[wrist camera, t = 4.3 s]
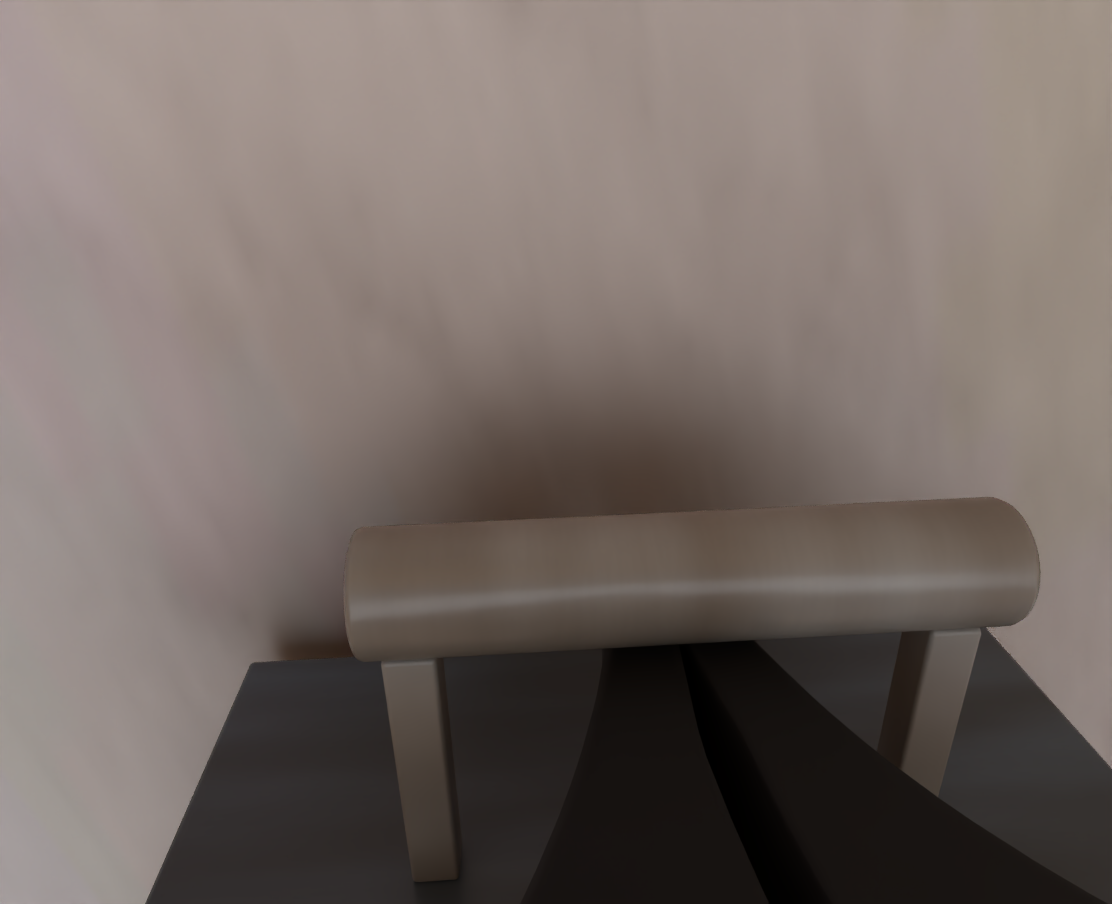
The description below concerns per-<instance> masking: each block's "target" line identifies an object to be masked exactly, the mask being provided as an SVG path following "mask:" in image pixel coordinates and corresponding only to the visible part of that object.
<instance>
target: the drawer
mask: <svg viewBox="0 0 1112 904" xmlns="http://www.w3.org/2000/svg"><path fill="white" fill-rule="evenodd" d="M1039 586H1040V562H1039V555H1038V551H1037V546H1036V543H1035V540H1034V537H1033V535H1032V532H1031V530H1030V528H1029V526H1028V524H1027V523H1026V521H1025V520H1024V518H1023V517H1022V515H1021V514H1020V513H1019V512H1018V511H1017V510H1016V509H1015V508H1014V507H1013V506H1011V505H1010V504H1009V503H1007V502H1005V501H1002V500H1000V499H997V498H993V497H979V498H958V499H937V500H916V501H895V502H874V503H853V504H832V505H812V506H791V507H770V508H749V509H728V510H707V511H686V512H665V513H644V514H623V515H602V516H581V517H560V518H539V519H518V520H497V521H476V522H456V523H435V524H414V525H393V526H372V527H361V528H359V529H357V530H355V531H354V533H353V535H352V537H351V540H350V543H349V546H348V550H347V554H346V560H345V569H344V585H343V601H344V618H345V626H346V633H347V638H348V642H349V645H350V648H351V651H352V653H353V655H354V657H343V658H325V659H307V660H289V661H270V662H254V663H252V664H251V665H250V666H249V669H248V671H247V673H246V676H245V678H244V680H243V682H242V685H241V687H240V689H239V692H238V694H237V696H236V698H235V701H234V703H233V705H232V707H231V710H230V712H229V714H228V717H227V719H226V721H225V723H224V726H223V728H222V730H221V732H220V735H219V737H218V739H217V742H216V744H215V746H214V748H213V751H212V753H211V755H210V758H209V760H208V762H207V764H206V767H205V769H204V771H203V773H202V776H201V778H200V780H199V783H198V785H197V787H196V789H195V792H194V794H193V796H192V799H191V801H190V803H189V805H188V808H187V810H186V812H185V814H184V817H183V819H182V821H181V824H180V826H179V828H178V830H177V833H176V835H175V837H174V840H173V842H172V844H171V846H170V849H169V851H168V853H167V855H166V858H165V860H164V862H163V865H162V867H161V869H160V871H159V874H158V876H157V878H156V881H155V883H154V885H153V887H152V890H151V892H150V894H149V896H148V899H147V901H146V903H145V904H520V903H521V901H522V899H523V897H524V894H525V892H526V890H527V888H528V886H529V884H530V882H531V880H532V877H533V875H534V873H535V871H536V869H537V867H538V864H539V862H540V859H541V857H542V855H543V852H544V850H545V848H546V845H547V843H548V841H549V838H550V836H551V834H552V831H553V829H554V827H555V824H556V822H557V819H558V817H559V814H560V812H561V809H562V806H563V804H564V801H565V798H566V796H567V793H568V790H569V788H570V785H571V782H572V779H573V776H574V773H575V770H576V767H577V764H578V761H579V758H580V755H581V752H582V748H583V745H584V741H585V737H586V734H587V730H588V726H589V723H590V719H591V716H592V712H593V708H594V704H595V700H596V696H597V691H598V685H599V680H600V674H601V669H602V649H606V648H624V647H642V646H660V645H678V644H696V643H714V642H732V641H749V640H755V641H756V642H757V643H758V644H759V645H760V646H761V647H762V648H763V649H764V650H765V651H766V652H767V653H768V654H769V655H770V656H771V657H772V658H773V659H774V660H775V661H776V662H777V663H778V664H779V665H780V666H781V667H782V668H783V669H784V670H785V671H786V672H787V673H788V674H789V675H790V676H791V677H792V678H794V679H795V680H796V681H797V682H798V683H799V684H800V685H801V686H802V687H803V688H804V689H805V690H806V691H807V692H808V693H809V694H810V695H811V696H812V697H814V698H815V699H816V700H817V701H818V702H819V703H820V704H821V705H822V706H823V707H825V708H826V709H827V710H828V711H829V712H830V713H831V714H832V715H834V716H835V717H836V718H837V719H838V720H839V721H841V722H842V723H843V724H844V725H845V726H846V727H848V728H849V729H850V730H851V731H852V732H853V733H855V734H856V735H857V736H858V737H859V738H861V739H862V740H863V741H864V742H865V743H867V744H868V745H869V746H870V747H872V748H873V749H874V750H875V751H877V752H878V753H879V754H881V755H882V756H883V757H884V758H886V759H887V760H888V761H890V762H891V763H892V764H894V765H895V766H896V767H898V768H899V769H900V770H902V771H903V772H904V773H906V774H907V775H909V776H910V777H911V778H913V779H914V780H915V781H917V782H918V783H919V784H921V785H922V786H923V787H925V788H926V789H927V790H929V791H930V792H932V793H933V794H934V795H936V796H937V797H938V798H940V799H941V800H943V801H944V802H945V803H947V804H948V805H950V806H951V807H953V808H954V809H956V810H957V811H959V812H960V813H962V814H963V815H964V816H966V817H967V818H969V819H970V820H972V821H973V822H975V823H976V824H978V825H980V826H981V827H983V828H984V829H986V830H987V831H989V832H990V833H992V834H994V835H995V836H997V837H998V838H1000V839H1001V840H1003V841H1005V842H1006V843H1008V844H1009V845H1011V846H1012V847H1014V848H1015V849H1017V850H1019V851H1020V852H1022V853H1023V854H1025V855H1026V856H1028V857H1030V858H1031V859H1033V860H1034V861H1036V862H1037V863H1039V864H1041V865H1042V866H1044V867H1046V868H1047V869H1049V870H1051V871H1053V872H1054V873H1056V874H1058V875H1059V876H1061V877H1063V878H1064V879H1066V880H1068V881H1069V882H1071V883H1073V884H1074V885H1076V886H1078V887H1080V888H1081V889H1083V890H1085V891H1086V892H1088V893H1090V894H1092V895H1093V896H1095V897H1097V898H1099V899H1101V900H1102V901H1104V902H1106V903H1108V904H1112V769H1111V767H1110V766H1109V765H1108V764H1107V763H1106V762H1105V761H1104V760H1103V758H1102V757H1101V756H1100V755H1099V754H1098V753H1097V752H1096V751H1095V749H1094V748H1093V747H1092V746H1091V745H1090V744H1089V743H1088V742H1087V741H1086V739H1085V738H1084V737H1083V736H1082V735H1081V734H1080V733H1079V732H1078V730H1077V729H1076V728H1075V727H1074V726H1073V725H1072V724H1071V723H1070V722H1069V720H1068V719H1067V718H1066V717H1065V716H1064V715H1063V714H1062V713H1061V711H1060V710H1059V709H1058V708H1057V707H1056V706H1055V705H1054V704H1053V703H1052V701H1051V700H1050V699H1049V698H1048V697H1047V696H1046V695H1045V694H1044V692H1043V691H1042V690H1041V689H1040V688H1039V687H1038V686H1037V685H1036V683H1035V682H1034V681H1033V680H1032V679H1031V678H1030V677H1029V676H1028V675H1027V673H1026V672H1025V671H1024V670H1023V669H1022V668H1021V667H1020V666H1019V664H1018V663H1017V662H1016V661H1015V660H1014V659H1013V658H1012V657H1011V656H1010V654H1009V653H1008V652H1007V651H1006V650H1005V649H1004V648H1003V647H1002V645H1001V644H1000V643H999V642H998V641H997V640H996V639H995V638H994V637H993V635H992V634H991V633H990V632H989V631H988V630H987V629H986V628H985V627H1000V626H1011V625H1013V624H1016V623H1018V622H1019V621H1021V620H1023V619H1024V618H1025V617H1026V616H1027V615H1028V614H1029V613H1030V611H1031V610H1032V608H1033V606H1034V604H1035V602H1036V599H1037V596H1038V592H1039Z"/></svg>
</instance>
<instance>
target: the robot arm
mask: <svg viewBox="0 0 1112 904" xmlns="http://www.w3.org/2000/svg"><path fill="white" fill-rule="evenodd" d="M520 904H1108V903H1106V902H1104V901H1102V900H1101V899H1099V898H1097V897H1095V896H1093V895H1092V894H1090V893H1088V892H1086V891H1085V890H1083V889H1081V888H1080V887H1078V886H1076V885H1074V884H1073V883H1071V882H1069V881H1068V880H1066V879H1064V878H1063V877H1061V876H1059V875H1058V874H1056V873H1054V872H1053V871H1051V870H1049V869H1047V868H1046V867H1044V866H1042V865H1041V864H1039V863H1037V862H1036V861H1034V860H1033V859H1031V858H1030V857H1028V856H1026V855H1025V854H1023V853H1022V852H1020V851H1019V850H1017V849H1015V848H1014V847H1012V846H1011V845H1009V844H1008V843H1006V842H1005V841H1003V840H1001V839H1000V838H998V837H997V836H995V835H994V834H992V833H990V832H989V831H987V830H986V829H984V828H983V827H981V826H980V825H978V824H976V823H975V822H973V821H972V820H970V819H969V818H967V817H966V816H964V815H963V814H962V813H960V812H959V811H957V810H956V809H954V808H953V807H951V806H950V805H948V804H947V803H945V802H944V801H943V800H941V799H940V798H938V797H937V796H936V795H934V794H933V793H932V792H930V791H929V790H927V789H926V788H925V787H923V786H922V785H921V784H919V783H918V782H917V781H915V780H914V779H913V778H911V777H910V776H909V775H907V774H906V773H904V772H903V771H902V770H900V769H899V768H898V767H896V766H895V765H894V764H892V763H891V762H890V761H888V760H887V759H886V758H884V757H883V756H882V755H881V754H879V753H878V752H877V751H875V750H874V749H873V748H872V747H870V746H869V745H868V744H867V743H865V742H864V741H863V740H862V739H861V738H859V737H858V736H857V735H856V734H855V733H853V732H852V731H851V730H850V729H849V728H848V727H846V726H845V725H844V724H843V723H842V722H841V721H839V720H838V719H837V718H836V717H835V716H834V715H832V714H831V713H830V712H829V711H828V710H827V709H826V708H825V707H823V706H822V705H821V704H820V703H819V702H818V701H817V700H816V699H815V698H814V697H812V696H811V695H810V694H809V693H808V692H807V691H806V690H805V689H804V688H803V687H802V686H801V685H800V684H799V683H798V682H797V681H796V680H795V679H794V678H792V677H791V676H790V675H789V674H788V673H787V672H786V671H785V670H784V669H783V668H782V667H781V666H780V665H779V664H778V663H777V662H776V661H775V660H774V659H773V658H772V657H771V656H770V655H769V654H768V653H767V652H766V651H765V650H764V649H763V648H762V647H761V646H760V645H759V644H758V643H757V642H756V641H755V640H749V641H732V642H714V643H696V644H678V645H660V646H642V647H624V648H606V649H602V669H601V674H600V680H599V685H598V691H597V696H596V700H595V704H594V708H593V712H592V716H591V719H590V723H589V726H588V730H587V734H586V737H585V741H584V745H583V748H582V752H581V755H580V758H579V761H578V764H577V767H576V770H575V773H574V776H573V779H572V782H571V785H570V788H569V790H568V793H567V796H566V798H565V801H564V804H563V806H562V809H561V812H560V814H559V817H558V819H557V822H556V824H555V827H554V829H553V831H552V834H551V836H550V838H549V841H548V843H547V845H546V848H545V850H544V852H543V855H542V857H541V859H540V862H539V864H538V867H537V869H536V871H535V873H534V875H533V877H532V880H531V882H530V884H529V886H528V888H527V890H526V892H525V894H524V897H523V899H522V901H521V903H520Z"/></svg>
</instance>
